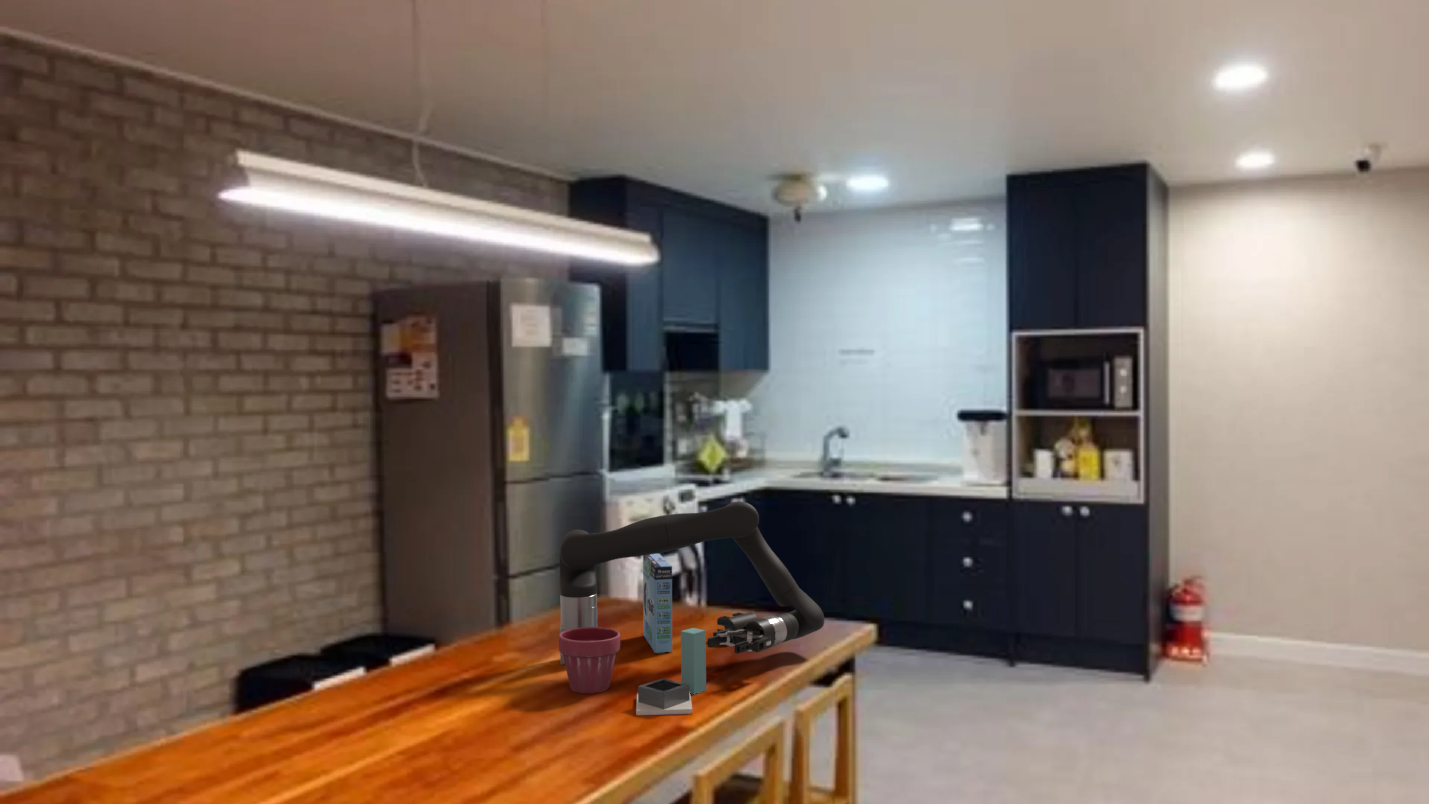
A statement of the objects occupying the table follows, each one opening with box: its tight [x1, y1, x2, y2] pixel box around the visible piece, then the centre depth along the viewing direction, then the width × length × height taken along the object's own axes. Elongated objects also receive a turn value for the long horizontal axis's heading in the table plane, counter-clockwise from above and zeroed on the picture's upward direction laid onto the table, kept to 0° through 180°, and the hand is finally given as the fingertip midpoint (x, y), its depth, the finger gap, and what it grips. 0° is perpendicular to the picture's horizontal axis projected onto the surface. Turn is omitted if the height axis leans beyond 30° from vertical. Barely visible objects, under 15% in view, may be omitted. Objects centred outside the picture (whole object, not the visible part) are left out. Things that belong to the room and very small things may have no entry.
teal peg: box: [680, 627, 707, 696], centre depth 246 cm, size 4×4×14 cm
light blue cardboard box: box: [642, 553, 673, 654], centre depth 288 cm, size 20×5×23 cm, turn 13°
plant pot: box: [558, 626, 621, 694], centre depth 249 cm, size 14×14×13 cm
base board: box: [635, 693, 693, 716], centre depth 235 cm, size 12×12×1 cm
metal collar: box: [637, 677, 691, 709], centre depth 235 cm, size 8×8×4 cm
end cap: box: [716, 611, 759, 643], centre depth 292 cm, size 10×7×7 cm
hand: (721, 646), depth 253 cm, fingers open, 8 cm apart
